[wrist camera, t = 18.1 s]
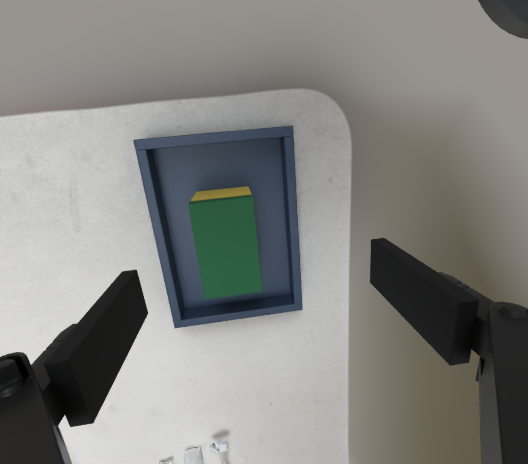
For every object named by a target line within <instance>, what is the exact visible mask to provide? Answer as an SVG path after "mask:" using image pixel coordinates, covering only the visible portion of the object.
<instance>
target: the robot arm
mask: <svg viewBox="0 0 528 464" xmlns="http://www.w3.org/2000/svg"><path fill="white" fill-rule="evenodd" d="M370 283H371V284H372V285H373V286H374V287H375V288H376V289H377V290H378V291H379V292H380V293H381V294H382V295H383V296H384V297H385V298H386V300H387V301H388V302H389V303H390V304H391V305H392V306H393V307H394V308H395V309H396V310H397V311H398V312H399V313H400V314H401V315H402V316H403V317H404V318H405V319H406V320H407V321H408V322H409V323H410V324H411V325H412V326H413V328H414V329H415V330H416V331H417V332H419V334H420V335H421V336H422V337H423V338H424V339H425V340H426V341H427V342H428V343H429V344H430V345H431V346H432V347H433V348H434V349H435V351H436V352H437V353H438V354H439V355H440V356H441V357H442V358H443V359H444V360H445V361H446V362H447V363H448V364H449V365H457V364H463V363H469V359H470V354H471V349H472V350H473V351H474V352H476V353H477V354H478V355H479V356H480V359H479V365H478V370H477V375H476V381H478V382H479V401H480V402H479V404H480V440H481V441H480V443H481V464H528V308H525V307H523V306H520V305H517V304H513V303H508V302H493V301H492V300H490V299H488V298H487V297H485V296H483V295H482V294H480V293H479V292H477V291H475V290H474V289H472V288H470V287H469V286H467V285H466V284H463V283H462V282H461V281H459V280H458V279H456V278H454V277H453V276H450V275H447V274H444V273H442V272H439V273H438V272H436V271H435V270H433V269H431V268H430V267H428V266H427V265H425V264H424V263H422V262H421V261H419V260H417V259H416V258H414V257H413V256H411V255H410V254H408V253H407V252H405V251H404V250H402V249H400V248H399V247H397V246H396V245H394V244H393V243H391V242H390V241H388V240H386V239H385V238H380V239H372V240H371V266H370ZM147 315H148V311H147V307H146V303H145V299H144V296H143V292H142V288H141V284H140V280H139V277H138V273H137V270H131V271H123V272H121V274H120V275H119V276H118V277H117V278H116V279H115V281H114V282H113V283H112V284H111V285H110V286H109V288H108V289H107V290H106V291H105V292H104V293H103V294H102V296H101V297H100V298H99V299H98V300H97V301H96V303H95V304H94V305H93V306H92V307H91V308H90V310H89V311H88V312H87V313H86V314H85V315H84V317H83V318H82V319H81V320H80V321H79V322H78V323H77V324H72V325H71V326H69V327H68V328H66V329H65V330H64V331H62V332H61V333H60V334H59V335H58V336H57V337H56V338H55V339H54V341H53V343H51V344H50V345H49V346H48V347H47V348H46V350H45V351H44V352H43V353H42V354H41V355H40V356H39V357H38V358H37V359H36V360H35V361H34V363H33V364H32V365H31V364H30V362H29V360H28V358H27V355H26V354H24V353H22V352H15V353H11V354H7V355H4V356H1V357H0V464H72V462H71V459H70V456H69V454H68V451H67V448H66V445H65V442H64V440H63V437H62V434H61V431H60V429H59V427H58V425H59V423H60V422H61V420H62V418H63V417H64V415H65V416H66V418H67V420H68V423H69V425H70V427H74V426H80V425H86V424H92V423H94V421H95V419H96V417H97V415H98V413H99V411H100V409H101V407H102V405H103V403H104V401H105V399H106V397H107V395H108V393H109V391H110V389H111V387H112V385H113V383H114V381H115V379H116V377H117V375H118V373H119V371H120V369H121V367H122V365H123V363H124V361H125V359H126V357H127V355H128V353H129V351H130V349H131V347H132V345H133V343H134V341H135V339H136V337H137V335H138V333H139V331H140V329H141V327H142V325H143V323H144V321H145V319H146V317H147Z"/></svg>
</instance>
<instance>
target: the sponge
mask: <svg viewBox="0 0 528 464" xmlns="http://www.w3.org/2000/svg"><path fill="white" fill-rule="evenodd" d="M188 207H189V213H190V219H191V224H192V230H193V236H194V241H195V247H196V253H197V258H198V264H199V270H200V275H201V281H202V286H203V292H204V298H205V300H206V299H213V298H220V297H227V296H235V295H242V294H249V293H256V292H263V288H262V278H261V269H260V259H259V249H258V240H257V230H256V220H255V210H254V201H253V196H252V194H251V191H250V189H249V187H248V186H245V187H236V188H227V189H218V190H208V191H199V192H196V193H195V195H194V196H193V198H192V199H191V201H190V202H189V204H188Z"/></svg>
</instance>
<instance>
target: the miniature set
mask: <svg viewBox="0 0 528 464" xmlns="http://www.w3.org/2000/svg"><path fill="white" fill-rule="evenodd" d="M227 450H228V442H227V441H219V443H217V444H214V443H213V444H212V445H211V446H210V451H212V452H213V453H215V454H218V453H219V452H227ZM184 461H185V464H202V459H201V449H200V447H198V448H191V449H189V450H188V451H187V452H186V453H185V455H184ZM159 464H173V462H172V460H170V461H168V462H166V463H164V462H159ZM222 464H227V461H226V460H224V461H223V462H222Z"/></svg>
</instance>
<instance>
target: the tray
mask: <svg viewBox="0 0 528 464" xmlns="http://www.w3.org/2000/svg"><path fill="white" fill-rule="evenodd" d="M134 145H135V150H137V151H136V154H137V158H138V163H139V167H140V172H141V176H142V181H143V186H144V190H145V195H146V199H147V204H148V208H149V213H150V217H151V222H152V226H153V231H154V236H155V240H156V245H157V249H158V254H159V258H160V263H161V267H162V272H163V277H164V281H165V286H166V290H167V295H168V299H169V304H170V308H171V313H172V318H173V322H174V327H175V328H180V327H187V326H194V325H200V324H207V323H214V322H221V321H228V320H235V319H242V318H249V317H256V316H263V315H270V314H276V313H283V312H290V311H297V310H302V291H301V272H300V253H299V234H298V215H297V196H296V177H295V158H294V139H293V126H284V127H273V128H262V129H251V130H239V131H228V132H217V133H206V134H194V135H183V136H172V137H161V138H149V139H138V140H134ZM245 186H248V187H249V189H250V191H251V194H252V196H253V201H254V210H255V220H256V230H257V240H258V249H259V259H260V269H261V278H262V288H263V292H256V293H249V294H242V295H235V296H227V297H220V298H213V299H206V300H205V298H204V292H203V286H202V281H201V275H200V270H199V264H198V258H197V253H196V247H195V241H194V236H193V230H192V224H191V219H190V213H189V207H188V204H189V202H190V201H191V199H192V198H193V196H194V195H195V193H196V192H199V191H208V190H218V189H227V188H236V187H245Z"/></svg>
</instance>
